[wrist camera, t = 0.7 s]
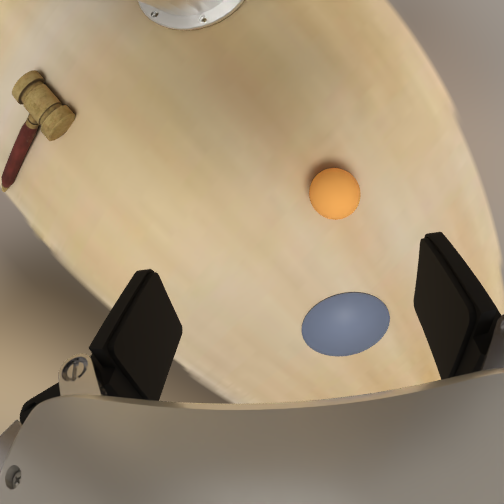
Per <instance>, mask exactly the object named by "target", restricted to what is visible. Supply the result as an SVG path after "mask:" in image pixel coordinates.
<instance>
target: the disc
mask: <svg viewBox="0 0 504 504" xmlns="http://www.w3.org/2000/svg"><path fill="white" fill-rule="evenodd" d="M389 321H390V316H389V312H388V309H387V307H386V306H385V304H384V303H383V302H382V301H381V300H379V299H378V298H376V297H374V296H372V295H369V294H365V293H359V292H349V293H342V294H337V295H334V296H331V297H329V298H327V299H325V300H323V301H321V302H319V303H318V304H317V305H315V306H314V307H313V308H312V309H311V310H310V311H309V312H308V314H307V315H306V317H305V319H304V321H303V324H302V335H303V338H304V340H305V342H306V343H307V345H308V346H309V347H310V348H312V349H313V350H315V351H317V352H319V353H321V354H325V355H329V356H348V355H353V354H356V353H360V352H362V351H364V350H366V349H368V348H370V347H372V346H373V345H375V344H376V343H377V342H378V341H379V340H380V339H381V338H382V337H383V336H384V334H385V333H386V331H387V329H388V326H389Z"/></svg>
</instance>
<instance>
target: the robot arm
mask: <svg viewBox="0 0 504 504" xmlns="http://www.w3.org/2000/svg"><path fill="white" fill-rule="evenodd" d="M243 2H244V0H138V3H139V6H140V8H141V10H142V11H143V12H144V14H145V15H146V16H147V17H148V18H149V19H151V20H152V21H153V22H155V23H157V24H159V25H161V26H164V27H167V28H171V29H176V30H194V29H200V28H204V27H208V26H211V25H213V24H215V23H218V22H220V21H222V20H223V19H225V18H226V17H228V16H230V15H231V14H232V13H233V12H234V11H235V10H237V9H238V8H239V6H240V5H241V4H242V3H243ZM158 13H159V14H158ZM157 14H158V16H157V17H156V15H157ZM203 19H207V21H206V22H203ZM414 308H415V311H416V313H417V316H418V318H419V321H420V323H421V326H422V328H423V331H424V333H425V336H426V338H427V341H428V343H429V346H430V349H431V351H432V354H433V357H434V360H435V362H436V365H437V368H438V371H439V374H440V377H441V380H438V381H434V382H429V383H425V384H420V385H415V386H410V387H404V388H399V389H394V390H388V391H383V392H377V393H370V394H363V395H356V396H349V397H341V398H332V399H322V400H311V401H299V402H283V403H259V404H206V403H181V402H166V401H159V399H160V395H161V393H162V390H163V387H164V384H165V381H166V378H167V375H168V372H169V369H170V366H171V363H172V361H173V358H174V355H175V352H176V349H177V347H178V344H179V341H180V338H181V335H182V325H181V323H180V321H179V319H178V317H177V314H176V312H175V310H174V308H173V306H172V304H171V301H170V299H169V297H168V295H167V293H166V290H165V288H164V286H163V284H162V281H161V279H160V277H159V275H158V273H156V272H154V271H153V270H152V269H147V270H139V271H136V273H135V274H134V275H133V277H132V279H131V280H130V282H129V283H128V285H127V286H126V288H125V289H124V291H123V292H122V294H121V295H120V297H119V299H118V300H117V302H116V303H115V305H114V307H113V308H112V310H111V311H110V313H109V315H108V316H107V318H106V320H105V321H104V323H103V325H102V326H101V328H100V329H99V331H98V333H97V335H96V336H95V338H94V340H93V341H92V343H91V345H90V347H89V349H90V350H91V352H92V355H91V357H90V356H88V355H87V354H83V353H81V354H76V355H74V356H72V357H70V358H69V359H67V360H66V361H65V362H64V363H63V365H62V366H61V368H60V370H59V373H58V379H59V382H58V383H57V384H55V385H53V386H52V387H50V388H48V389H47V390H45V391H43V392H42V393H40V394H38V395H37V396H35V397H33V398H31V399H30V400H29V401H27V402H26V403H25V404H24V405H23V407H22V410H21V413H20V421H18V420H16V421H15V422H14V423H13V424H12V425H11V426H10V427H9V428H8V429H7V430H6V431H5V432H3V433H2V434H1V436H0V504H504V315H502V316H501V314H500V313H499V311H498V309H497V307H496V306H495V304H494V303H493V301H492V300H491V298H490V297H489V295H488V294H487V292H486V291H485V289H484V288H483V286H482V285H481V283H480V282H479V280H478V279H477V278H476V276H475V275H474V273H473V272H472V271H471V269H470V268H469V266H468V265H467V264H466V262H465V261H464V260H463V258H462V257H461V256H460V254H459V253H458V252H457V251H456V249H455V248H454V247H453V245H452V244H451V243H450V242H449V240H448V239H447V238H446V237H445V235H444V234H443V233H442V232H436V233H429V234H426V235H425V238H423V239H421V241H420V250H419V261H418V271H417V279H416V287H415V295H414Z"/></svg>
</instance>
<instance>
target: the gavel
mask: <svg viewBox="0 0 504 504" xmlns="http://www.w3.org/2000/svg"><path fill="white" fill-rule="evenodd" d="M44 82H45V81H44V79H43V77H42V76H41V75H40V74H39V73H38V71H35V70H34V71H30V72H28V73H26V74H25V75H23V76H22V77H21V78H20V79H19V80H18V81H17V83H16V84H15V86H14V88H13V90H12V95H13V96H14V98H15V99H16V100H17V102H18V103H19V104H24V107H25V108H26V109H27V110H28V112H29V113H30V114H29V116H28V118H27V120H26V122H25V123H24V125H23V126H22V128H21V130H20V132H19V135H18V137H17V139H16V141H15V144H14V146H13V149H12V151H11V153H10V156H9V158H8V161H7V164H6V166H5V169H4V172H3V174H2V191H3V192H5V191H6V190H7V189H8V188H9V186H10V185H12V184H13V183H14V181H15V178H16V176H17V173H18V171H19V169H20V166H21V164H22V162H23V160H24V157H25V155H26V153H27V151H28V149H29V147H30V145H31V143H32V140H33V138H34V136H35V134H36V132H37V129H38V126H39V125H41V132H42V133H43V134H44V135H45V136H46V138H47V139H48V140H49V141H53V140H55V139H57V138H59V137H60V136H62V135H63V134H64V133H65V132H66V131H67V130H68V128H69V127H70V125H71V124H72V123H73V121H74V119H75V114H74V113H73V112H72V111H71V110H70V109H69V108H68V106H66V105H63V106H62V104H61V102H60V101H59V100H58V99H57V97H56V96H55V95H54V94H53V93H52V92H51V90H50V89H49V88H48V87H47V86H46V85H45V84H44Z"/></svg>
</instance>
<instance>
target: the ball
mask: <svg viewBox="0 0 504 504" xmlns="http://www.w3.org/2000/svg"><path fill="white" fill-rule="evenodd" d="M309 196H310V201H311V204H312V206H313V207H314V209H315V210H316V211H317V212H318V213H319V214H320V215H322V216H323V217H325V218H328V219H335V220H337V219H343V218H345V217H347V216H349V215H350V214H352V213H353V212H354V211H355V209H356V208H357V206H358V204H359V201H360V188H359V185H358V183H357V181H356V179H355V178H354V177H353V176H352V175H351V174H350V173H349V172H347V171H345V170H343V169H339V168H329V169H326V170H323V171H321V172H320V173H319V174H317V175H316V176H315V178H314V179H313V181H312V183H311V186H310V190H309Z"/></svg>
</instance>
